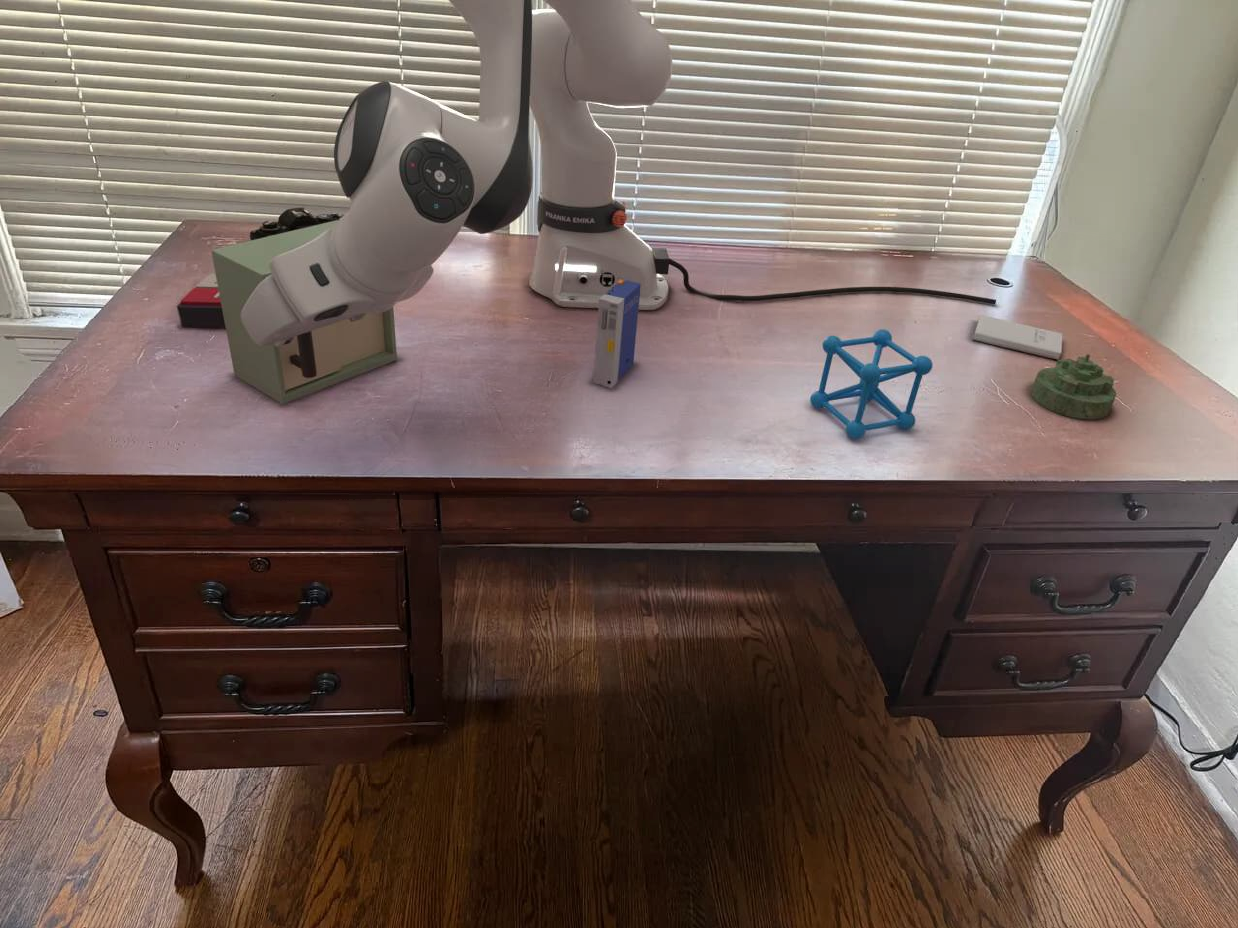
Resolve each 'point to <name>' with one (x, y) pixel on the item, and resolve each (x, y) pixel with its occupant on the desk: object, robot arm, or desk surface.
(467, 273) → the desk surface
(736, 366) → the desk surface
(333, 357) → the door
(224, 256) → the cabinet
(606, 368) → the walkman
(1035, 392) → the decorative artifact
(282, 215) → the film camera
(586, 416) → the desk surface
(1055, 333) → the hard drive
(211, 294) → the red and black box
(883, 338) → the molecular structure
